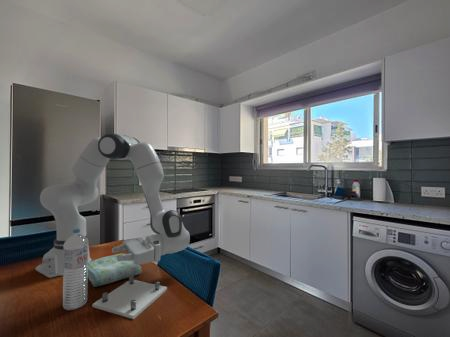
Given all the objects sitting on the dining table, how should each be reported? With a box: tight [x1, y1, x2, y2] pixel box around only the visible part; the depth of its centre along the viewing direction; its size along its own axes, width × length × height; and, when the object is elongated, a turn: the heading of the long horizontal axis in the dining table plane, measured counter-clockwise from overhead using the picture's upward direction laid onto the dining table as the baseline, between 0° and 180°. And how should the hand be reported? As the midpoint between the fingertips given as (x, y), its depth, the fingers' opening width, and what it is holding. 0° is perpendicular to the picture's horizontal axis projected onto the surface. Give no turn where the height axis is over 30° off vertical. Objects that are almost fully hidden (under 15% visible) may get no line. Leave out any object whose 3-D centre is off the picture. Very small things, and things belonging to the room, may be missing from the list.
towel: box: [88, 253, 143, 288], centre depth 93 cm, size 18×21×5 cm
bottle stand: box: [92, 276, 168, 320], centre depth 75 cm, size 17×17×4 cm
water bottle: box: [62, 229, 89, 311], centre depth 71 cm, size 7×7×25 cm
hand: (114, 254), depth 78 cm, fingers open, 8 cm apart
